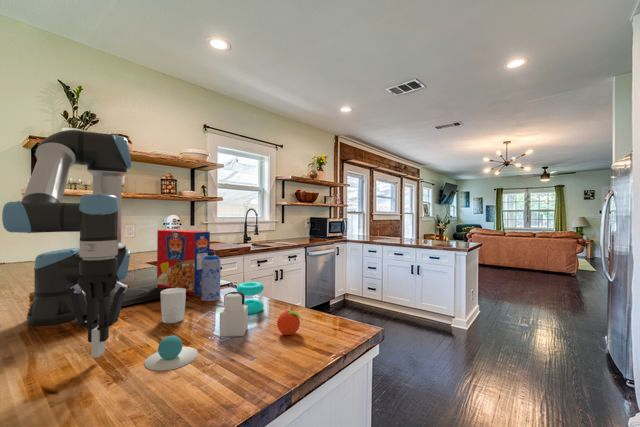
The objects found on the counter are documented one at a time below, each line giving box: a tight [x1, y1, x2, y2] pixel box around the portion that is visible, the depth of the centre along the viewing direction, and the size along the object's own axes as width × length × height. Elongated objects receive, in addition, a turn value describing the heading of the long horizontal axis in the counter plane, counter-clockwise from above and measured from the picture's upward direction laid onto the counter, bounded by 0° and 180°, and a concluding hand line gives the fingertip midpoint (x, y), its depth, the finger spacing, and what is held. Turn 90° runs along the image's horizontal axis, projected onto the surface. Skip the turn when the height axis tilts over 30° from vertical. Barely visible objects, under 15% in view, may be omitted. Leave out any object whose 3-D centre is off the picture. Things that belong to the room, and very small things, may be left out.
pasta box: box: [156, 229, 211, 297], centre depth 141 cm, size 28×8×28 cm, turn 60°
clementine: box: [276, 310, 303, 336], centre depth 89 cm, size 8×7×7 cm
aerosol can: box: [200, 250, 222, 302], centre depth 126 cm, size 8×8×20 cm
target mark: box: [144, 346, 199, 372], centre depth 74 cm, size 12×12×1 cm
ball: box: [157, 335, 184, 360], centre depth 74 cm, size 6×6×6 cm
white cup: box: [160, 288, 187, 324], centre depth 101 cm, size 8×8×10 cm
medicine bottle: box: [219, 291, 249, 338], centre depth 91 cm, size 7×7×12 cm
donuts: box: [236, 281, 265, 315], centre depth 111 cm, size 10×10×10 cm
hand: (98, 354), depth 72 cm, fingers closed
